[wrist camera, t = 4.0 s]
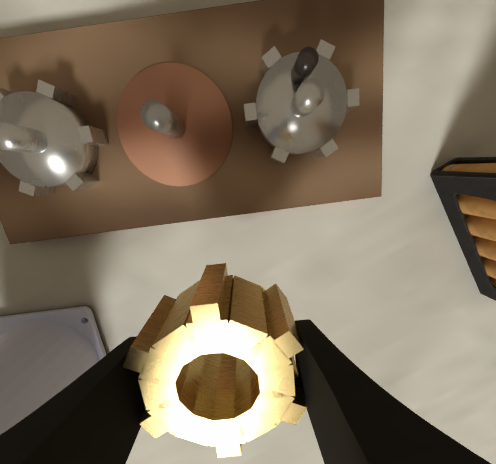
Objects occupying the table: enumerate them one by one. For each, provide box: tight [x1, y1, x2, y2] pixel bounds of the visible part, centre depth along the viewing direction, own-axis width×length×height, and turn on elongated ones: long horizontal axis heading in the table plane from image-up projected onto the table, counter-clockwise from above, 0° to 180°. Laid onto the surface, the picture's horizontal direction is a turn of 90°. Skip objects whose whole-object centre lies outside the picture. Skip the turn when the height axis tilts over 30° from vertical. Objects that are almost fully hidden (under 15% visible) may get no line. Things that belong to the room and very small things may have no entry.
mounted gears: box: [0, 39, 359, 196], centre depth 12 cm, size 6×20×3 cm, turn 97°
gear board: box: [0, 0, 384, 244], centre depth 14 cm, size 11×24×1 cm, turn 97°
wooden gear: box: [123, 263, 307, 457], centre depth 9 cm, size 6×6×3 cm
